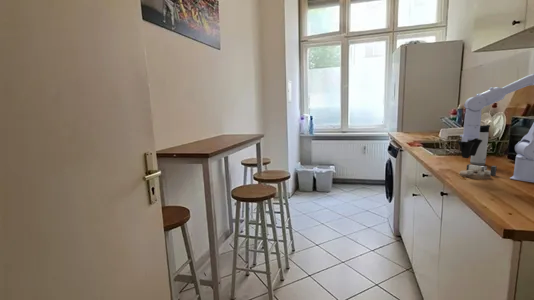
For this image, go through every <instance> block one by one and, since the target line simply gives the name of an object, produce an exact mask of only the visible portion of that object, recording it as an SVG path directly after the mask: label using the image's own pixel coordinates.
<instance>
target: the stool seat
mask: <svg viewBox="0 0 534 300" xmlns="http://www.w3.org/2000/svg"><path fill="white" fill-rule="evenodd" d="M490 174H491V170H488V169H487V170H484V172H483V171H478V172H475V171H473V170H465V169H464V170H460V171H459V176H461V177H463V178H466V179H467V178H468V179H473V180H475V179H476V180H489V179H491V175H490Z"/></svg>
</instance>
